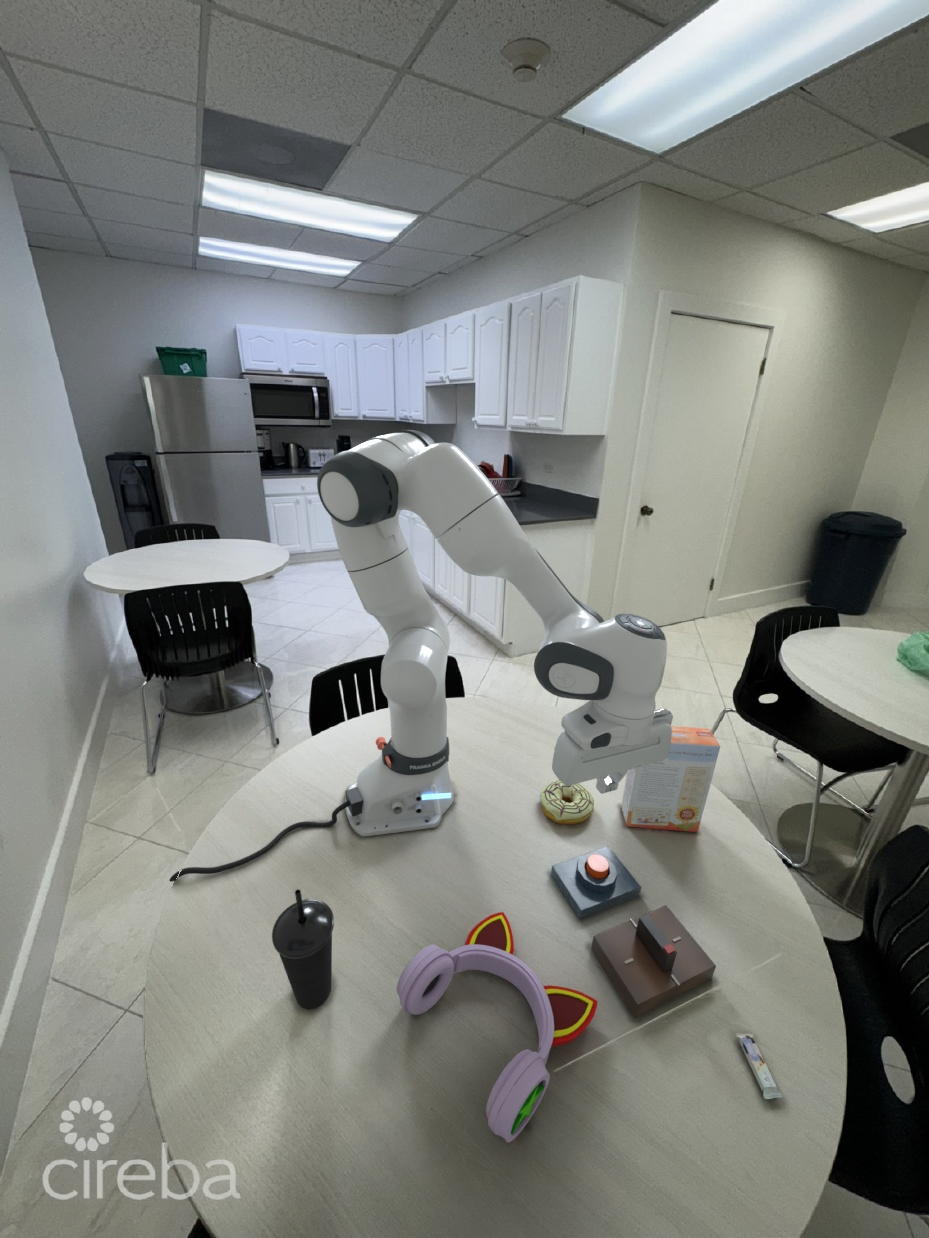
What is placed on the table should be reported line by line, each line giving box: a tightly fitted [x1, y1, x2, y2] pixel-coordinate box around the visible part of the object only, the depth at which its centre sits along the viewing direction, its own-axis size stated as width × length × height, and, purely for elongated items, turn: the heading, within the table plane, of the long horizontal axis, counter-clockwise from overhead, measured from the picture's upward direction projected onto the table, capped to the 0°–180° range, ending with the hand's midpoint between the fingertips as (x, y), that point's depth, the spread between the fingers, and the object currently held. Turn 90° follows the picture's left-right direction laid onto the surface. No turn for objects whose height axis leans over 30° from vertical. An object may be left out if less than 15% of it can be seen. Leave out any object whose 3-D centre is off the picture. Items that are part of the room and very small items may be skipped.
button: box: [586, 854, 609, 879], centre depth 83 cm, size 4×4×2 cm
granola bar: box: [735, 1032, 783, 1100], centre depth 62 cm, size 7×2×1 cm, turn 1°
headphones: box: [396, 911, 599, 1143], centre depth 65 cm, size 20×10×20 cm
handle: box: [636, 913, 677, 972], centre depth 71 cm, size 6×2×4 cm, turn 22°
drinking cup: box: [271, 888, 335, 1011], centre depth 65 cm, size 8×8×20 cm
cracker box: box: [620, 725, 721, 833], centre depth 95 cm, size 14×6×21 cm, turn 84°
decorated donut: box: [539, 778, 595, 825], centre depth 101 cm, size 10×11×4 cm
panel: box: [590, 905, 717, 1018], centre depth 73 cm, size 14×10×3 cm
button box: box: [550, 845, 642, 920], centre depth 84 cm, size 12×9×4 cm
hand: (606, 789), depth 80 cm, fingers closed
